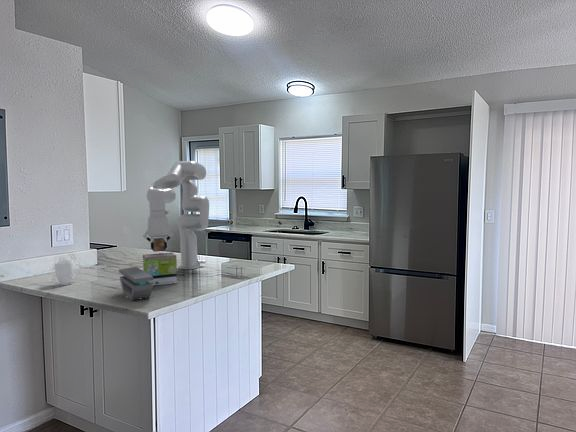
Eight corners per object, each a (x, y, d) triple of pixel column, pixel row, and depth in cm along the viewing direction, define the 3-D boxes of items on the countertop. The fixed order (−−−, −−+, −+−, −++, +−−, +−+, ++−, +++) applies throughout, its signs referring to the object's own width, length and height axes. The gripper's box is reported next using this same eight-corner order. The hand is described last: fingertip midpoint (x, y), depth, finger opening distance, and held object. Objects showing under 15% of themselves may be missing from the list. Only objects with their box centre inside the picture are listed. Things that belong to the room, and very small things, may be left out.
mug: (58, 287, 218) (56, 264, 217) (54, 284, 224) (52, 261, 223) (84, 283, 225) (82, 261, 224) (79, 280, 232) (78, 258, 231)
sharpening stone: (120, 292, 207) (119, 269, 206) (137, 289, 212) (136, 267, 211) (135, 304, 187) (134, 279, 186) (154, 301, 191) (153, 276, 190)
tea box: (146, 287, 215) (145, 257, 214) (143, 282, 224) (141, 254, 223) (177, 283, 222) (176, 254, 221) (173, 279, 231) (171, 251, 230)
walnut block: (163, 249, 225) (163, 237, 224) (164, 251, 220) (164, 239, 220) (153, 250, 223) (153, 238, 223) (153, 251, 219) (153, 239, 218)
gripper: (174, 212, 226) (175, 247, 228) (139, 214, 221) (141, 249, 223) (175, 213, 219) (177, 250, 221) (139, 215, 214) (141, 252, 216)
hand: (159, 249), depth 222 cm, fingers closed on walnut block, 5 cm apart
